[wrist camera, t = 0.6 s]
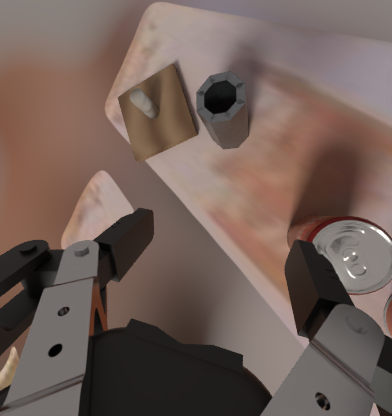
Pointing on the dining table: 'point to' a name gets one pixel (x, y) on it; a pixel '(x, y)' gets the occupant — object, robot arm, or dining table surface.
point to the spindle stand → (157, 114)
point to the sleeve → (224, 109)
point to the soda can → (349, 249)
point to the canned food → (388, 316)
